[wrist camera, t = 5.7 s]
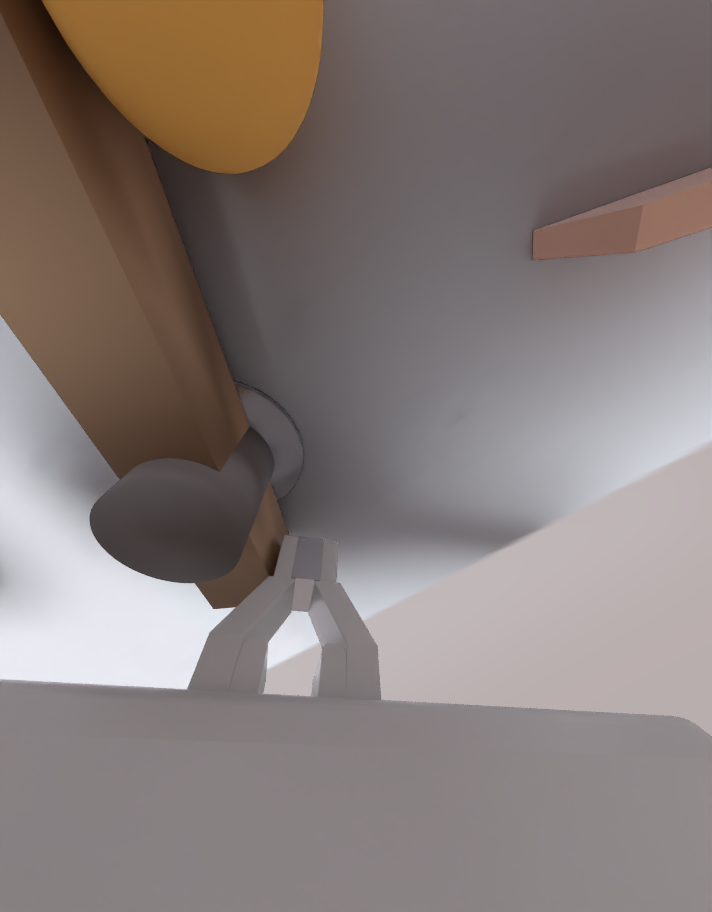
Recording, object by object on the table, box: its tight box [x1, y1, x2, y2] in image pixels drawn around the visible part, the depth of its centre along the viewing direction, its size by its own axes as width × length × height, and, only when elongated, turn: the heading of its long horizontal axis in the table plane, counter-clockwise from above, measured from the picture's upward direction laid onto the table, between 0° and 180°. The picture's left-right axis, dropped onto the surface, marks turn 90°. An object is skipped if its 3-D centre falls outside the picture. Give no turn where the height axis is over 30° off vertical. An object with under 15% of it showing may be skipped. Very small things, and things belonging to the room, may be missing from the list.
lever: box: [0, 0, 289, 609], centre depth 7 cm, size 14×3×3 cm, turn 7°
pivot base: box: [234, 381, 304, 501], centre depth 10 cm, size 5×5×1 cm
